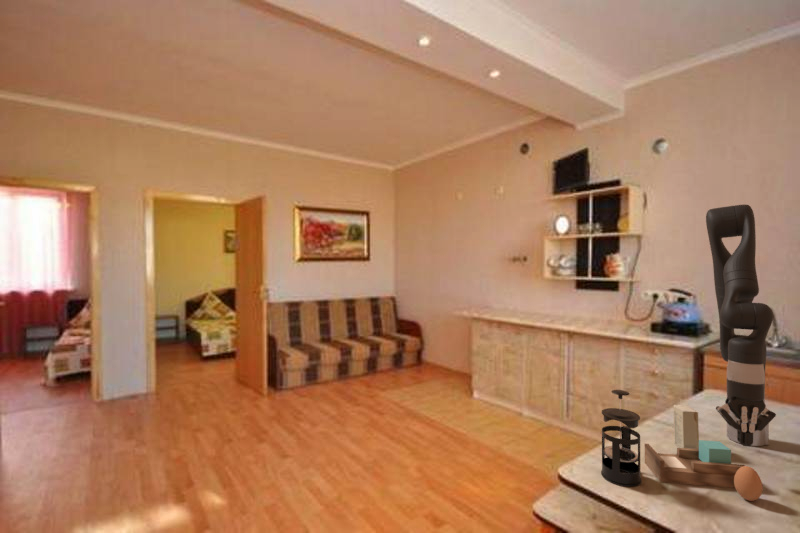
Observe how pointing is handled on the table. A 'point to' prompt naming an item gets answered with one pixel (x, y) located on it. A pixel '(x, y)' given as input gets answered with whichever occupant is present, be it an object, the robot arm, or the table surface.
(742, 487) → the egg
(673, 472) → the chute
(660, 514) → the table surface
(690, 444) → the skincare box
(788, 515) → the table surface
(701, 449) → the block
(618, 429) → the french press
